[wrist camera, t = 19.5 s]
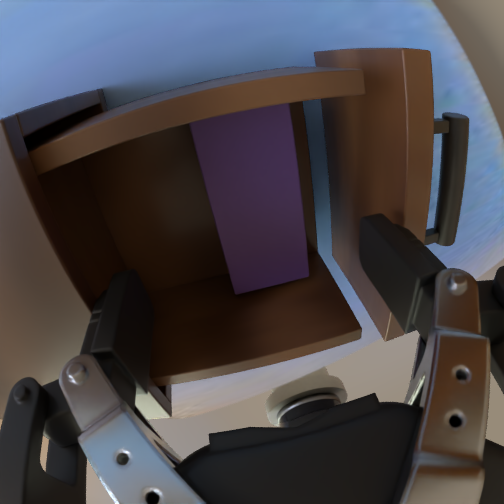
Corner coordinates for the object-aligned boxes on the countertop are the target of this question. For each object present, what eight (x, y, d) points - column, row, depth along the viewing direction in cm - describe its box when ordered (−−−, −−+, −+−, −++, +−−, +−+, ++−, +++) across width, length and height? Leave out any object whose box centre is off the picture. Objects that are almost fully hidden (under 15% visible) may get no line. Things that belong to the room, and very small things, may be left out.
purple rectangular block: (296, 250, 18) (309, 276, 16) (229, 266, 18) (235, 295, 16) (274, 94, 13) (289, 99, 11) (189, 111, 13) (187, 120, 11)
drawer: (405, 51, 13) (510, 65, 7) (404, 236, 21) (469, 307, 14) (62, 115, 13) (-26, 160, 6) (139, 301, 20) (126, 401, 14)
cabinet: (102, 87, 13) (1, 118, 5) (174, 292, 21) (172, 417, 13) (-64, 184, 13) (-143, 256, 5) (15, 326, 21) (-18, 417, 13)
